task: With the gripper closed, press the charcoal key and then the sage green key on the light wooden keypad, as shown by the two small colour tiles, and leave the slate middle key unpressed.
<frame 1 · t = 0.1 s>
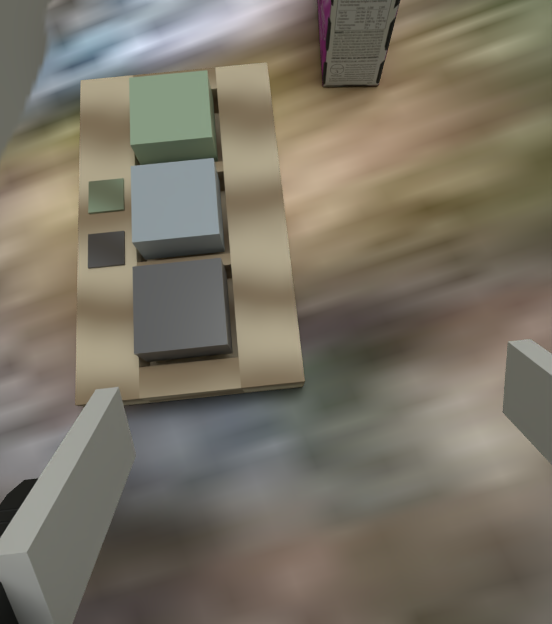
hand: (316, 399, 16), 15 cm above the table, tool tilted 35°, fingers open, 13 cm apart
candy bar box: (344, 37, 39), on the table
key slate: (178, 209, 30), point 4 cm above the table, slide at 0.0 cm
key sage: (174, 120, 32), point 4 cm above the table, slide at 0.0 cm
keypad: (190, 234, 34), on the table
key charcoal: (183, 310, 29), point 4 cm above the table, slide at 0.0 cm
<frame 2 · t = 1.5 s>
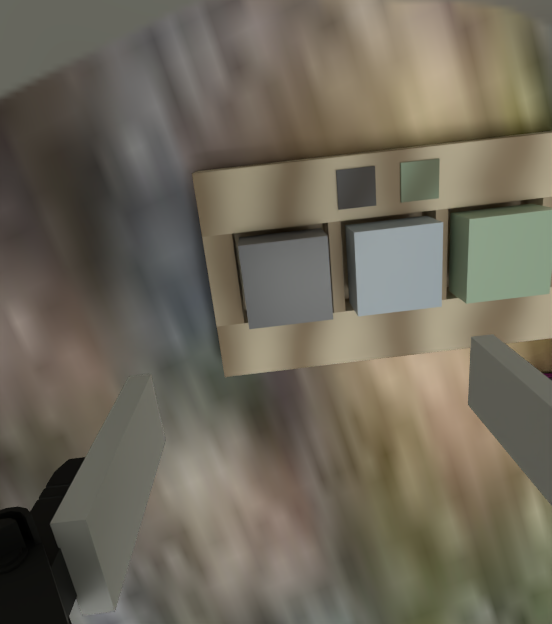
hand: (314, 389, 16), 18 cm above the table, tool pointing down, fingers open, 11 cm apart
key slate: (392, 265, 30), point 4 cm above the table, slide at 0.0 cm
key sage: (499, 252, 30), point 4 cm above the table, slide at 0.0 cm
keypad: (377, 252, 33), on the table
key charcoal: (285, 277, 30), point 4 cm above the table, slide at 0.0 cm
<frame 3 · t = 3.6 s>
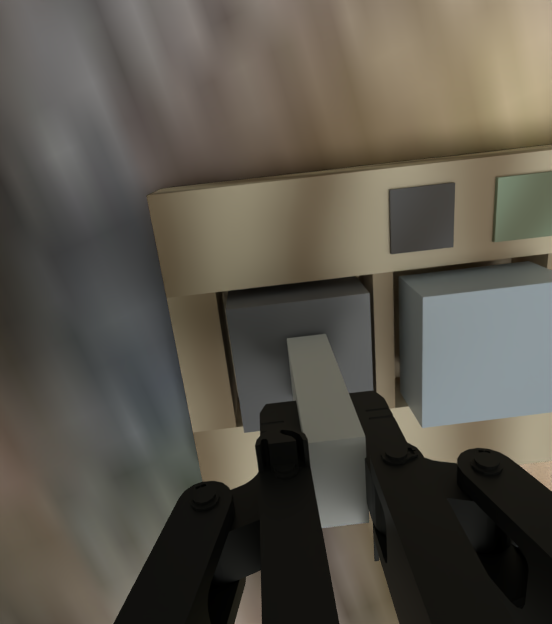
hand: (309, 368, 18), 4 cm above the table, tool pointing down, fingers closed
key slate: (476, 342, 18), point 4 cm above the table, slide at 0.0 cm
keypad: (439, 310, 22), on the table
key charcoal: (300, 351, 19), point 3 cm above the table, slide at 1.1 cm, touching gripper
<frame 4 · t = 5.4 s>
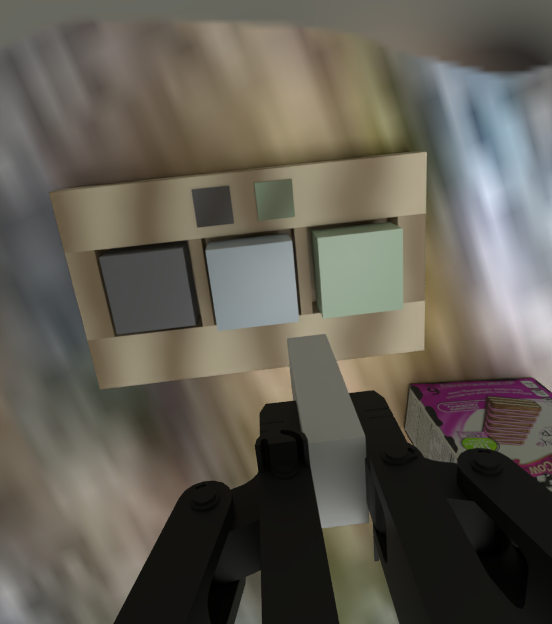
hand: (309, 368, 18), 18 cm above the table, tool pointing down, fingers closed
candy bar box: (465, 401, 40), on the table
key slate: (253, 281, 31), point 4 cm above the table, slide at 0.0 cm
key sage: (356, 269, 31), point 4 cm above the table, slide at 0.0 cm
keypad: (252, 267, 34), on the table
key charcoal: (152, 286, 32), point 2 cm above the table, slide at 1.6 cm
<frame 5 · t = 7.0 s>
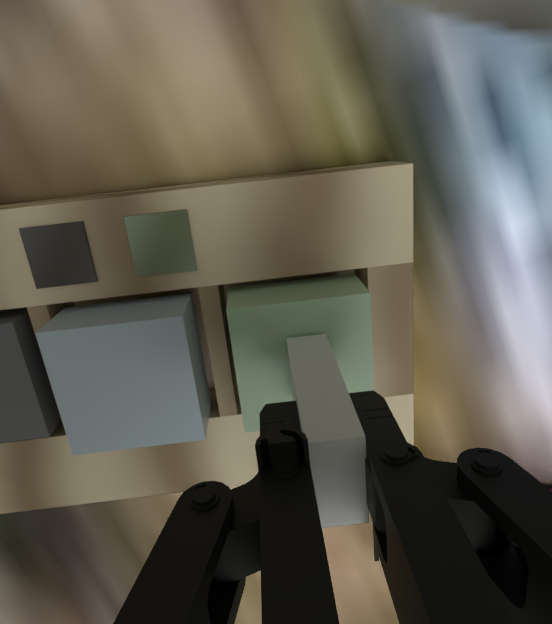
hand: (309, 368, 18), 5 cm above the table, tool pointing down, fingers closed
key slate: (133, 372, 19), point 4 cm above the table, slide at 0.0 cm
key sage: (300, 351, 19), point 4 cm above the table, slide at 0.2 cm, touching gripper
keypad: (151, 336, 23), on the table
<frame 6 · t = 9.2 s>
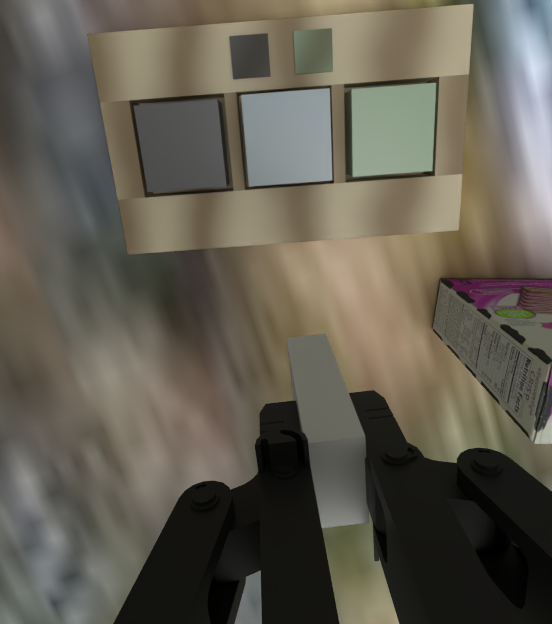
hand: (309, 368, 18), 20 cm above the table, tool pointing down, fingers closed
candy bar box: (497, 302, 39), on the table
key slate: (287, 139, 30), point 4 cm above the table, slide at 0.0 cm
key sage: (387, 131, 32), point 2 cm above the table, slide at 1.6 cm
keypad: (285, 139, 34), on the table
key charcoal: (185, 147, 32), point 2 cm above the table, slide at 1.6 cm
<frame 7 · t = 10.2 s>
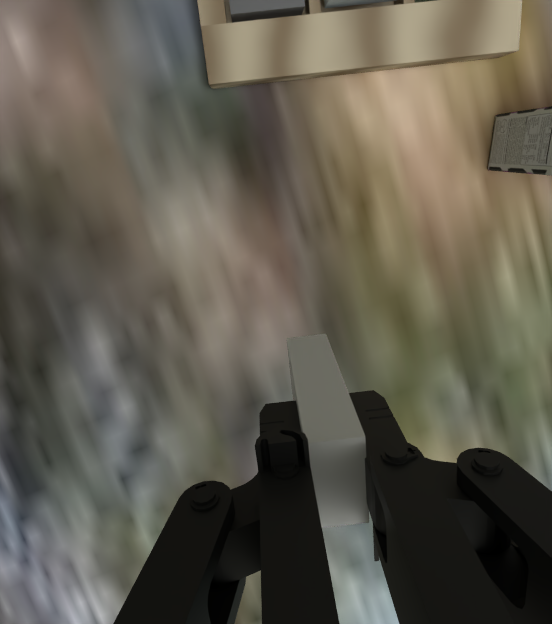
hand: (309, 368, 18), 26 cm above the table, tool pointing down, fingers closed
candy bar box: (548, 140, 41), on the table
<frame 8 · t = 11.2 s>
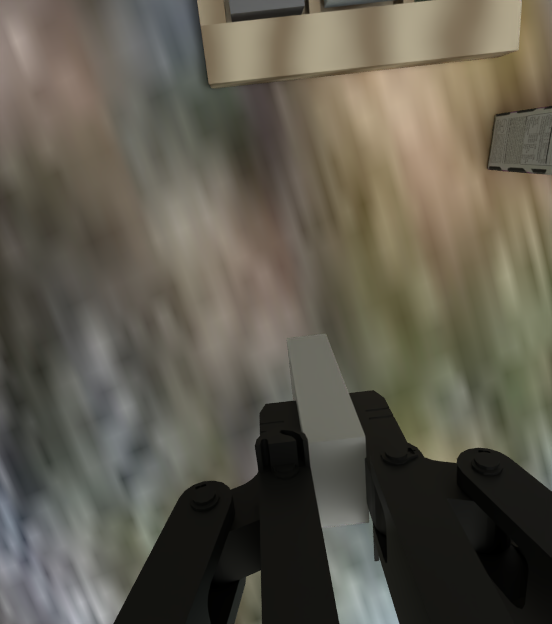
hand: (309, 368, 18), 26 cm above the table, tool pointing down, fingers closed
candy bar box: (548, 139, 41), on the table
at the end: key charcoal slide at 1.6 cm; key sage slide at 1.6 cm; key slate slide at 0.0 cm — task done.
